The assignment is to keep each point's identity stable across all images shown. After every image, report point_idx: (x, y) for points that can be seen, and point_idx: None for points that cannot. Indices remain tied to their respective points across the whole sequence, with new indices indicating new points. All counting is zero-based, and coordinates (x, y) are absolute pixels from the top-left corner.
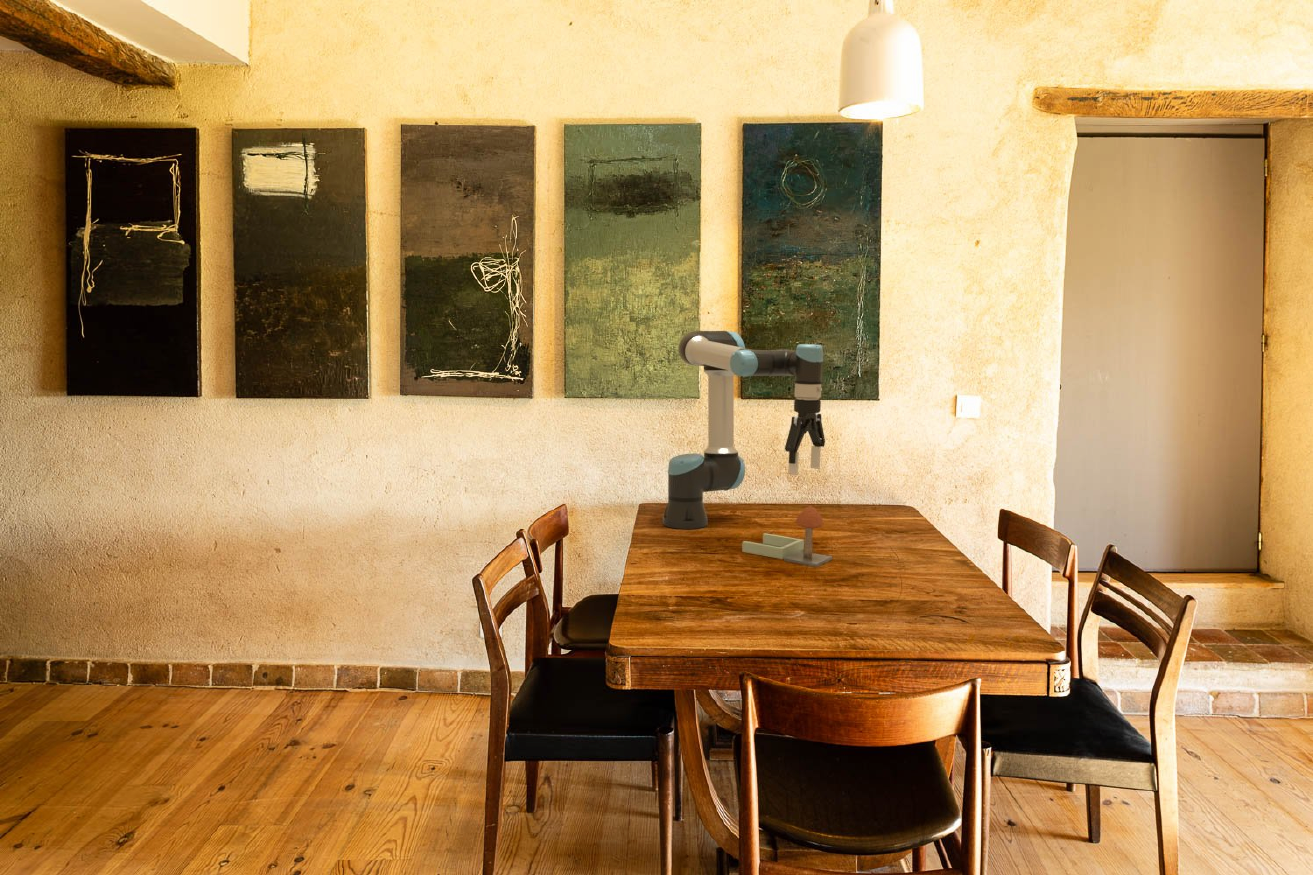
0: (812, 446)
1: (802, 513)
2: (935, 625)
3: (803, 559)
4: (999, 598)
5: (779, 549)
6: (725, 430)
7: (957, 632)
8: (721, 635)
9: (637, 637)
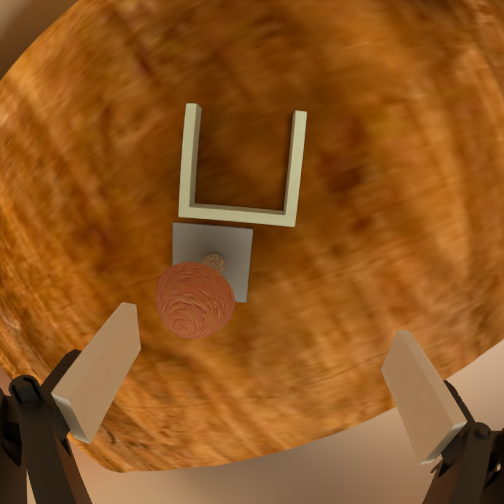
0: (449, 430)
1: (163, 300)
2: None
3: (187, 261)
4: (199, 466)
5: (179, 207)
6: None
7: None
8: None
9: None
